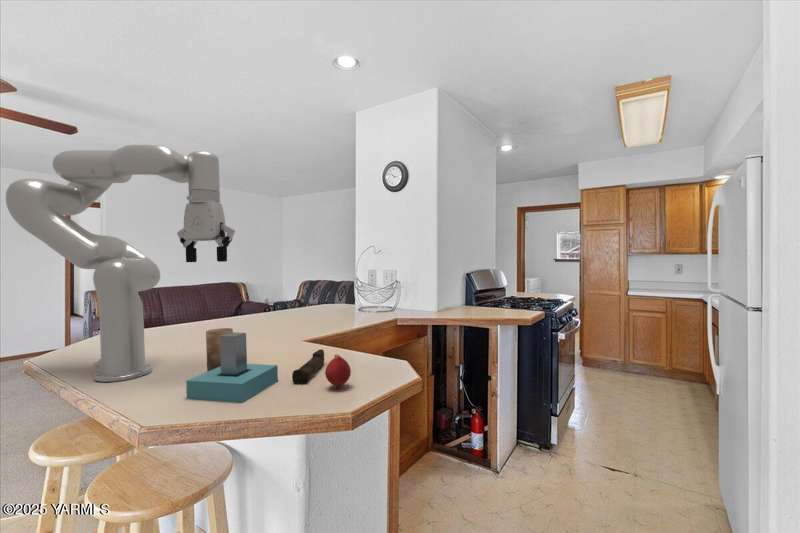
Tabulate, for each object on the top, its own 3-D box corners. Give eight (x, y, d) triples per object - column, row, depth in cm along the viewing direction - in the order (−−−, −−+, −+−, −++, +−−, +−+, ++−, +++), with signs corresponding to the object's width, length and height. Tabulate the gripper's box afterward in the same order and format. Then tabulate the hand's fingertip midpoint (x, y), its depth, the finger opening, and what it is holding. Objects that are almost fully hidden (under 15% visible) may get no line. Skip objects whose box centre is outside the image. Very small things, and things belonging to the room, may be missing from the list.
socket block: (186, 398, 82) (186, 380, 82) (229, 378, 96) (228, 362, 95) (242, 402, 79) (241, 383, 79) (277, 381, 93) (277, 365, 92)
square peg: (221, 387, 86) (219, 335, 85) (233, 381, 90) (231, 332, 89) (236, 388, 85) (235, 336, 85) (247, 382, 89) (246, 332, 88)
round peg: (201, 378, 96) (200, 332, 96) (218, 371, 102) (217, 327, 102) (223, 379, 95) (221, 333, 94) (239, 372, 101) (237, 328, 101)
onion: (341, 381, 91) (340, 349, 91) (355, 387, 87) (355, 353, 87) (321, 387, 87) (320, 354, 87) (335, 394, 83) (334, 358, 83)
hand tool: (307, 386, 89) (307, 366, 89) (291, 385, 90) (291, 366, 90) (332, 363, 108) (332, 348, 108) (319, 363, 109) (319, 347, 109)
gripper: (166, 198, 99) (168, 262, 99) (222, 194, 95) (224, 261, 95) (188, 202, 106) (190, 262, 106) (241, 199, 102) (243, 261, 103)
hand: (206, 261), depth 101 cm, fingers open, 9 cm apart
